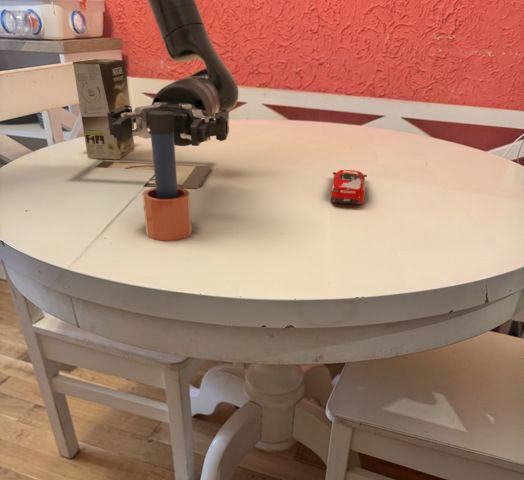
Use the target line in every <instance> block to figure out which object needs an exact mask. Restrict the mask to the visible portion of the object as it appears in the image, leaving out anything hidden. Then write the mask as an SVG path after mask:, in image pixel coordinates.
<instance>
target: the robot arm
mask: <svg viewBox="0 0 524 480" xmlns="http://www.w3.org/2000/svg"><path fill="white" fill-rule="evenodd" d="M147 2H148V5H149V8H150V9H151V12H152V15H153V18H154V20H155V23H156V25H157V28H158V31H159V34H160V36H161V39H162V42H163V43H164V47H165V50H166V53H167V54H168V56H169V58H170V59H171V60H172V61H173V62H175V63H186V62H191V61H198V60H199V61H202V62H203V64H204V65H205V68H203V69H200V70H197V72H194V73H192V74H190V75H188V76H185V77H184V78H180V79H177V80H175V81H173V82H170V83H169V84H168V85H165V86H163V87H161V89H159V90H158V92H156V94H155V95H154V98H153V99H152V102H151V104H150V105H141V106H137V107H135V108H134V110H133V108H132V105H130V106H128V105H124V106H121V107H119V108H117V109H114V110H112V111H109V112H107V116H108V123H109V131H110V135H113V136H114V138H117V142H126V141H127V140H128V139H130V138H131V137H133V138H134V137H139V138H141V139H146V140H147V139H151V132H150V125H149V114H148V113H149V112H151V111H170V112H172V113H173V124H174V146H177V147H188V146H192V147H199V146H200V145H201V143H205V142H209V141H211V140H212V139H211V137H215V140H217V141H219V142H223V141H226V140H227V138H228V135H229V133H230V110H232V109H233V108H235V107H236V106H237V103H238V100H239V88H238V84H237V81H236V80H235V78H234V76H233V74H232V73H231V71H230V70H229V68H228V67H227V66H226V64H225V63H224V61H223V60H222V58H221V56H220V55H219V53H218V52H217V51H216V48H215V47H214V44H213V43H212V41H211V39H210V37H209V35H208V32H207V29H206V26H205V23H204V21H203V18H202V15H201V12H200V9H199V7H198V4H197V1H196V0H147ZM135 126H136V127H135ZM148 129H149V130H148Z"/></svg>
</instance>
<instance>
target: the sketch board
mask: <svg viewBox="0 0 524 480" xmlns="http://www.w3.org/2000/svg"><path fill="white" fill-rule="evenodd" d="M95 168H97V169H98V168H99V169H119V170H120V169H123V170H140V171H141V170H142V171H154V163H153V162H136V161H134V162H133V161H116V160H115V161H112V160H102V161H101V162H100V163H98V164H97V165H95ZM211 169H212V168H211V165H199V164H197V165H196V164H180V163H179V164H177V163H176V175H177V187H178V188H182V189H185V190H197V189H198V188H200V187H201V185H202V184H203V182H204V181H205V180H206V177H207V176H208V174H209V173H210V171H211ZM143 187H145V188H156V185H155V174H154V173H153V175H152V176H151V178H149V180H148V181H146V183H145V184H143Z"/></svg>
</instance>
